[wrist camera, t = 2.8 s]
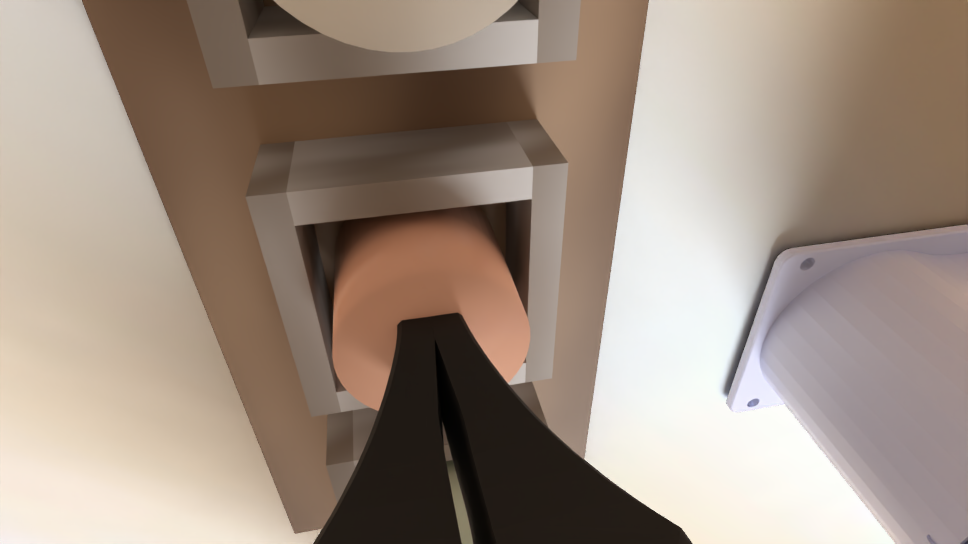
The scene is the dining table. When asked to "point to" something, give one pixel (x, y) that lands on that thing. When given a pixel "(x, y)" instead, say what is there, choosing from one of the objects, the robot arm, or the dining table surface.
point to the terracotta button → (420, 291)
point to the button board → (377, 189)
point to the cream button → (397, 21)
